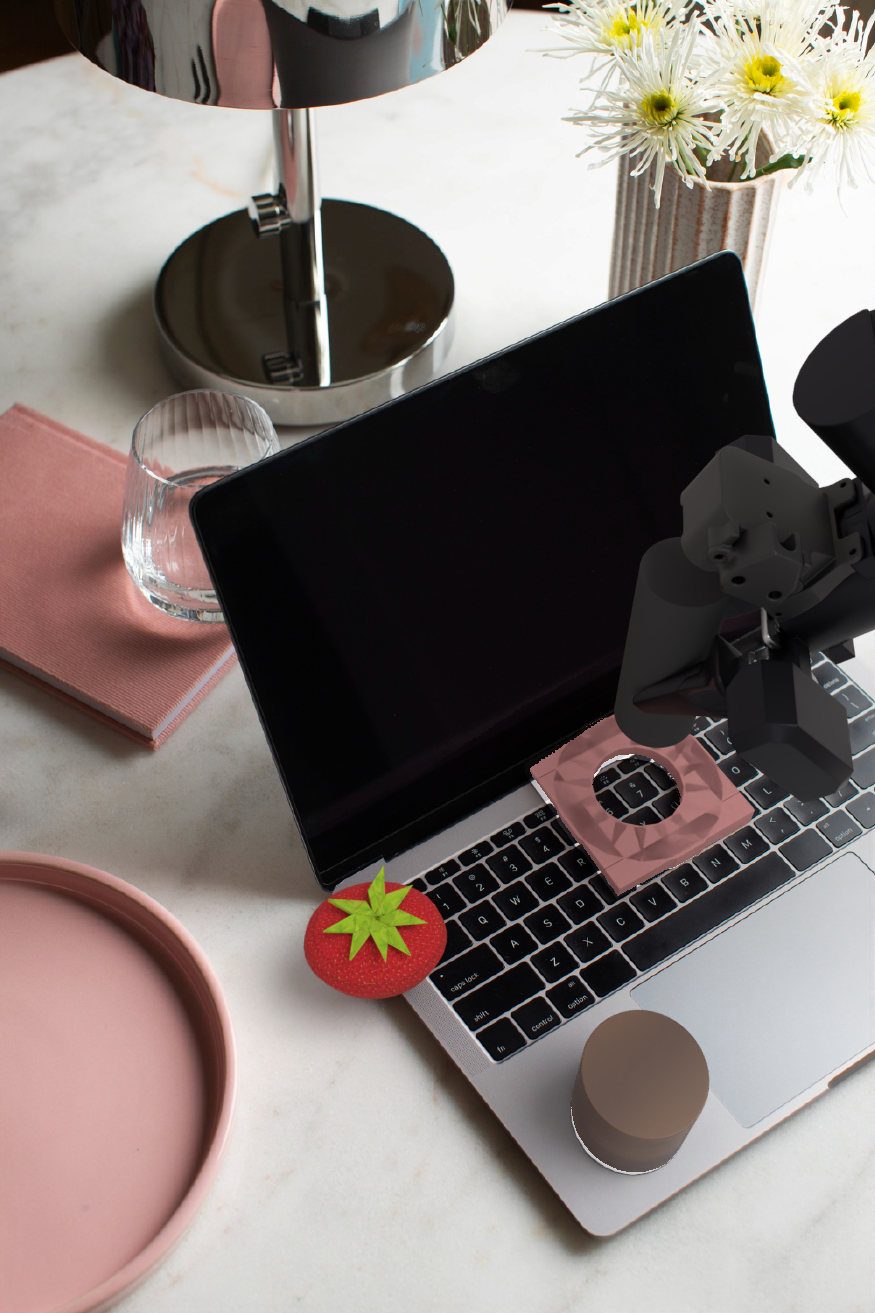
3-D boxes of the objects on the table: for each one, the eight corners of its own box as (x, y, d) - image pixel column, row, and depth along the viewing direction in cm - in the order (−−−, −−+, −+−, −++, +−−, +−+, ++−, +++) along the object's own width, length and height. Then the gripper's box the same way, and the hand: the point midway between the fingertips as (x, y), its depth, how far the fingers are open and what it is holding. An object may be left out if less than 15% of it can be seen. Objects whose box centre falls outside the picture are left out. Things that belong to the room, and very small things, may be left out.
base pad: (753, 822, 69) (758, 810, 68) (616, 903, 66) (618, 892, 65) (651, 703, 74) (654, 690, 73) (520, 773, 71) (520, 760, 70)
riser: (710, 1134, 58) (736, 1095, 53) (614, 1199, 56) (631, 1165, 51) (640, 1034, 61) (657, 987, 56) (547, 1092, 60) (555, 1050, 54)
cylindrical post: (699, 748, 61) (742, 606, 51) (617, 749, 61) (645, 607, 52) (689, 681, 64) (727, 535, 54) (610, 682, 64) (635, 536, 54)
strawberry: (312, 935, 65) (290, 855, 57) (442, 920, 65) (438, 838, 57) (316, 1037, 62) (294, 967, 54) (454, 1021, 62) (452, 949, 54)
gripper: (802, 292, 51) (544, 458, 61) (844, 612, 40) (520, 752, 50) (926, 434, 57) (672, 566, 66) (993, 750, 46) (675, 852, 55)
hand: (637, 668), depth 59 cm, fingers closed on cylindrical post, 4 cm apart
